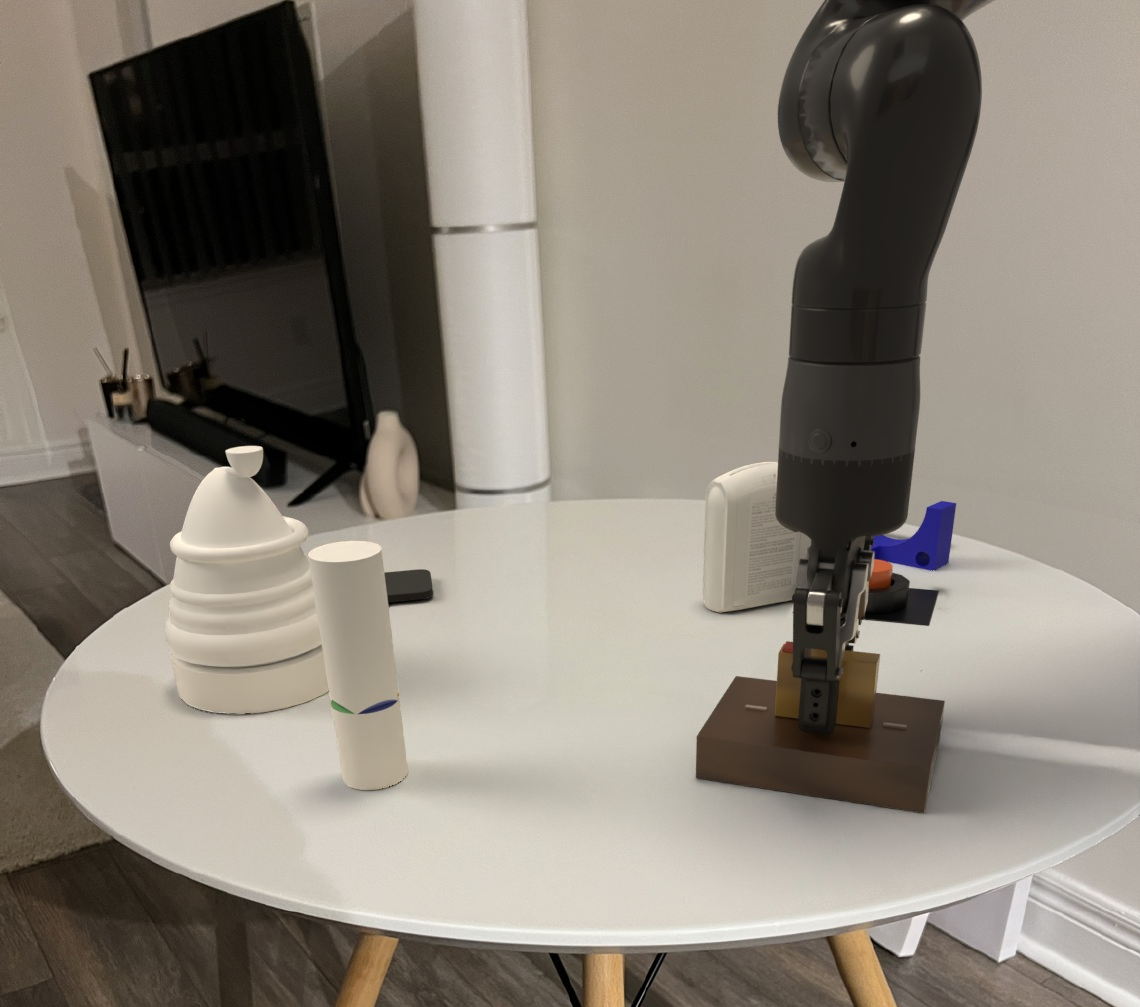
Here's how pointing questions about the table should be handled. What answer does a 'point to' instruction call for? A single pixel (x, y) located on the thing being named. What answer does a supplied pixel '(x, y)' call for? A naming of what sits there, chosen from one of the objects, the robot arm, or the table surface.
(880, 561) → the button
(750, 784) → the plate
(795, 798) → the table surface
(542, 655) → the table surface
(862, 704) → the lock knob
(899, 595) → the button block
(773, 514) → the photo printer
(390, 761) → the tube
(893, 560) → the blue u-shaped cradle
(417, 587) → the phone
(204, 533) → the honey pot
